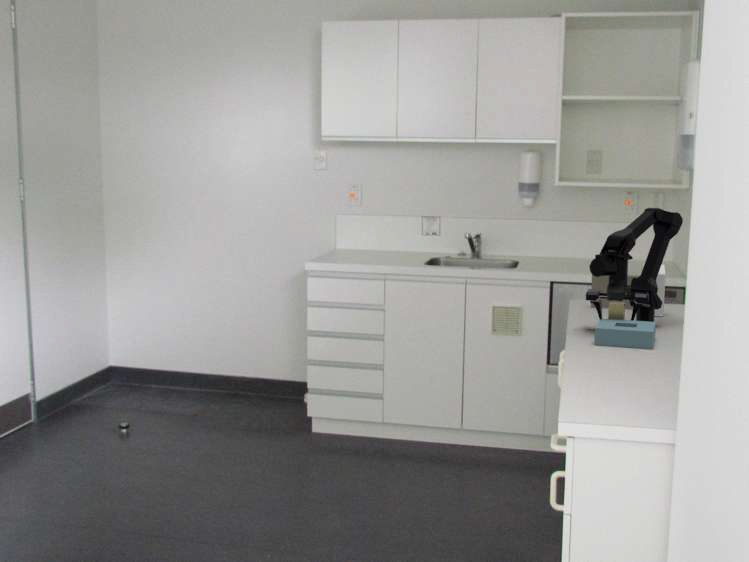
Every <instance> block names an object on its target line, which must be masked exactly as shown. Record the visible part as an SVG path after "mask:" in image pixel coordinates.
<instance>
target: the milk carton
mask: <svg viewBox="0 0 749 562" xmlns="http://www.w3.org/2000/svg"><path fill="white" fill-rule="evenodd" d="M645 262H646V260H645V261H642V266H641V267H642V268H641V270H640V271H641V272H640V274H641V273H642V270H643V267H644V264H645ZM656 282H657V286H658V292H657V295H658V296H659V298H660V299H661V301H662V306H661V308H660V309H655V316H654V317H664V316H665V294H666V293H665V292H666V290H665V289H666V267H665V261H662V264H661V267H660V270H659V273H658V276H657V279H656Z"/></svg>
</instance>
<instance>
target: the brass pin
mask: <svg viewBox="0 0 749 562" xmlns="http://www.w3.org/2000/svg"><path fill="white" fill-rule="evenodd" d="M607 310H608V312H607V313H608V314H607V315H608V316H607V319H615V320H626V317H625V316H626V315H625V314H626V310H625V303H624V302H610V303H609V309H607Z"/></svg>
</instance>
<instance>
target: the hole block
mask: <svg viewBox="0 0 749 562" xmlns="http://www.w3.org/2000/svg"><path fill="white" fill-rule="evenodd" d="M656 326H657V323H656V321H654V322H648V321H636V320H634V321H631V319H630V320H629V319H628V320H627V319H625V320H615V319H608V318H602V319H601V320H600V319H599V321H598V323H597V324H596V326H595V327H594V346H602V347H603V346H605V347H616V348H617V347H618V348H630V349H631V348H634V349H643V350H645V349H646V350H654V344H655V341H656Z"/></svg>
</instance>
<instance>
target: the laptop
mask: <svg viewBox="0 0 749 562" xmlns="http://www.w3.org/2000/svg"><path fill="white" fill-rule="evenodd" d="M639 276H640V275H630V274H629V275H628V279H627V285H631V281H632V279H633V278H638V277H639ZM608 279H609V276H600V277H595V276H593V275H592V274H591V288H590V290H600V291H601V293H607V286H608ZM600 299H601V303H602V310H605V309H606V310H609V303H610V302H624V303H625V311H633V306H630V301H629V300H623V301H616V300H612V301H609V300H607V299H604V298H600ZM590 309H596V307H595V305H594V304H593V303H590Z"/></svg>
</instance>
